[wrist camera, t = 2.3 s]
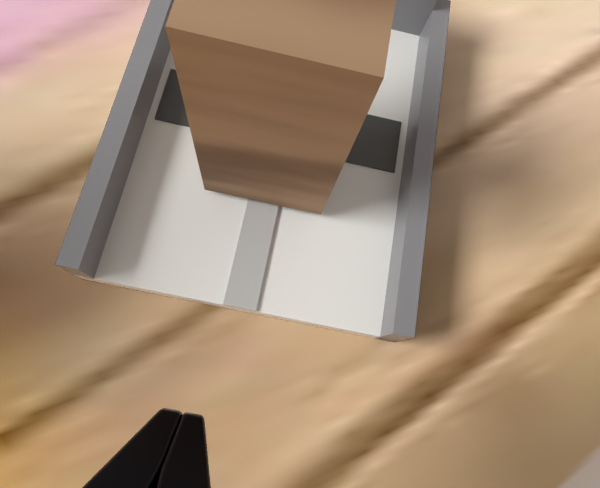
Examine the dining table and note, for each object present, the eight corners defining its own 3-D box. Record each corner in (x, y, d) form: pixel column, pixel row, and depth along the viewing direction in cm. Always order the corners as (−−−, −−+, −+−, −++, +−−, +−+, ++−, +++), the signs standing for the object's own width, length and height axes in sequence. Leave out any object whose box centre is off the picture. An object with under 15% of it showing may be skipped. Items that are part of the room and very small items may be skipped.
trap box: (393, 342, 23) (432, 334, 18) (80, 278, 22) (33, 252, 17) (430, 38, 28) (466, -30, 24) (182, -22, 28) (169, -104, 23)
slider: (320, 214, 23) (383, 77, 12) (204, 189, 22) (165, 26, 12) (336, 130, 24) (404, -58, 14) (227, 105, 24) (210, -107, 13)
